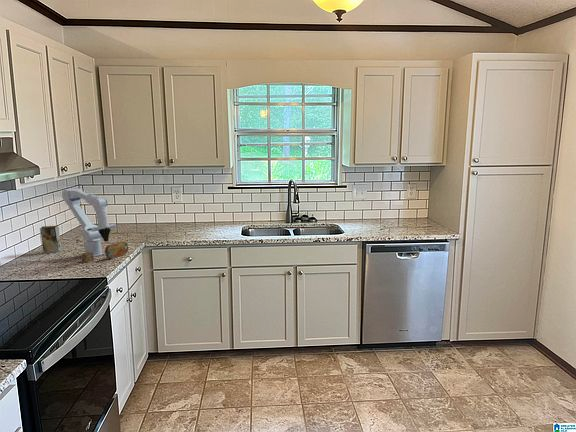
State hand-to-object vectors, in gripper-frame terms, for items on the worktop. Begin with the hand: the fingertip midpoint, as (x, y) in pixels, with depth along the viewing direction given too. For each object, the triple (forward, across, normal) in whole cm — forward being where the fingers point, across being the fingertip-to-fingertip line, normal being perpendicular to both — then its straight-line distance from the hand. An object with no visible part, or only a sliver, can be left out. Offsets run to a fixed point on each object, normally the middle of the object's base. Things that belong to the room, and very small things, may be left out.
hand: (106, 241), depth 248 cm
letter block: (+9, -11, +4) cm, 15 cm away
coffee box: (+6, -10, +45) cm, 46 cm away
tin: (+10, +3, -4) cm, 11 cm away
